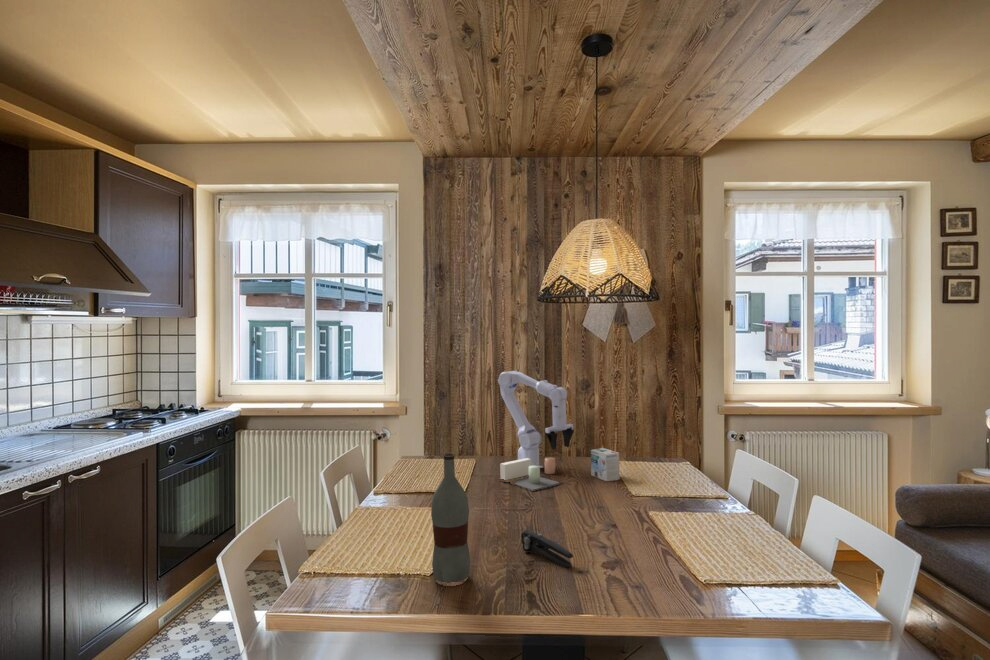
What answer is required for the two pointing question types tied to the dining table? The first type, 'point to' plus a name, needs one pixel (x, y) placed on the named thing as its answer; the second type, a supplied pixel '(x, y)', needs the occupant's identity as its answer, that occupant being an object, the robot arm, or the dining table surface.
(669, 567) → the dining table surface
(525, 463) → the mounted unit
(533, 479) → the sage part
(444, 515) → the bottle
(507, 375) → the robot arm
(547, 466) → the terracotta part
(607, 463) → the light bulb box
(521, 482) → the pad
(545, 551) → the can opener
